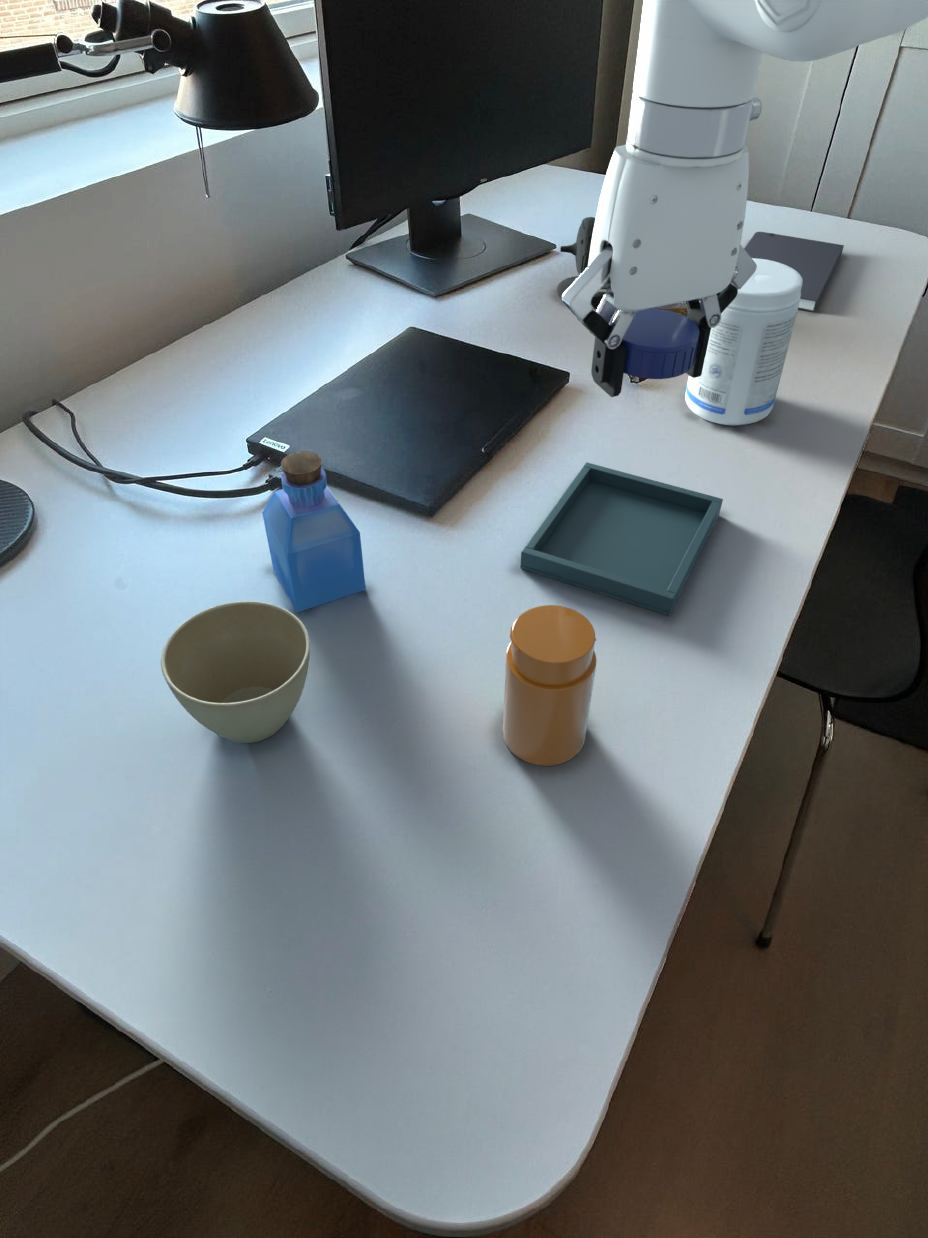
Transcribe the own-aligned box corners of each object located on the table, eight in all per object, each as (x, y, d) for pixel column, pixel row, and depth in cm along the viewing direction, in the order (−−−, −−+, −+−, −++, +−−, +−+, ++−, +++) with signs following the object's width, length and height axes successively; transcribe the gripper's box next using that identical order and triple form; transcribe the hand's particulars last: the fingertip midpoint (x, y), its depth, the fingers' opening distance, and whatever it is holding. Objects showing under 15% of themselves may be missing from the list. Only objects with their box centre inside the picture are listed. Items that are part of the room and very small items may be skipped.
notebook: (813, 312, 115) (841, 255, 129) (816, 300, 114) (844, 244, 128) (717, 293, 119) (754, 241, 133) (720, 282, 118) (756, 230, 132)
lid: (592, 343, 69) (596, 312, 68) (671, 333, 71) (677, 303, 69) (625, 384, 65) (629, 352, 63) (709, 373, 66) (716, 342, 64)
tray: (584, 477, 87) (586, 461, 86) (719, 515, 83) (723, 498, 82) (520, 568, 77) (521, 551, 76) (669, 616, 73) (673, 599, 72)
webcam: (614, 307, 116) (624, 229, 109) (558, 307, 116) (564, 229, 109) (609, 283, 121) (617, 208, 115) (555, 283, 122) (560, 207, 115)
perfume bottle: (273, 569, 77) (250, 452, 69) (339, 549, 79) (324, 433, 71) (297, 612, 73) (275, 493, 65) (365, 589, 75) (353, 472, 67)
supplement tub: (761, 385, 101) (794, 256, 91) (780, 429, 94) (818, 295, 84) (676, 384, 101) (699, 255, 91) (689, 428, 94) (716, 294, 84)
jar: (560, 692, 67) (571, 592, 60) (600, 749, 63) (617, 649, 56) (489, 716, 65) (492, 616, 58) (525, 777, 61) (533, 677, 54)
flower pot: (212, 794, 60) (189, 727, 55) (165, 700, 66) (141, 632, 61) (344, 733, 64) (334, 666, 59) (288, 650, 70) (274, 582, 65)
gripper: (760, 97, 61) (710, 338, 74) (540, 125, 56) (526, 379, 69) (833, 125, 57) (766, 379, 69) (599, 158, 51) (572, 425, 64)
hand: (646, 377), depth 69 cm, fingers closed on lid, 6 cm apart
